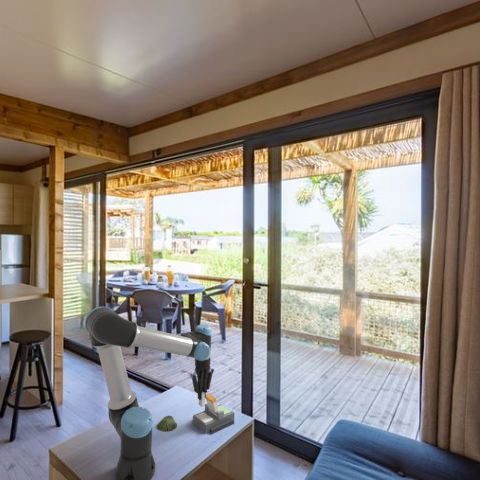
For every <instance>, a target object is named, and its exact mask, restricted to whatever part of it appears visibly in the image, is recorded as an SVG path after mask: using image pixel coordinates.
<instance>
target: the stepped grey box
mask: <svg viewBox="0 0 480 480" xmlns="http://www.w3.org/2000/svg"><path fill="white" fill-rule="evenodd" d="M217 405H218V408H219V410H220V411H219V412H217V415H216V414H214V413H213V412H212V411H210V410H209V409H208V404H207V403H204V410H203V411H201V412H198V413H196V414H193V415H192V424H193V425H194V426H196V427H197V428H198V429H199V430H200V431H202V432H203V433H204V434H208V433H210V428H212V427H215V426H217V425H219V424H221V423H223V422H225V421H228V420H230V419H233V420H234V421H235V412H234V411H233V410H231V409H230V408H228V407H226V405H223V404H221V403H220V404H217Z"/></svg>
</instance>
